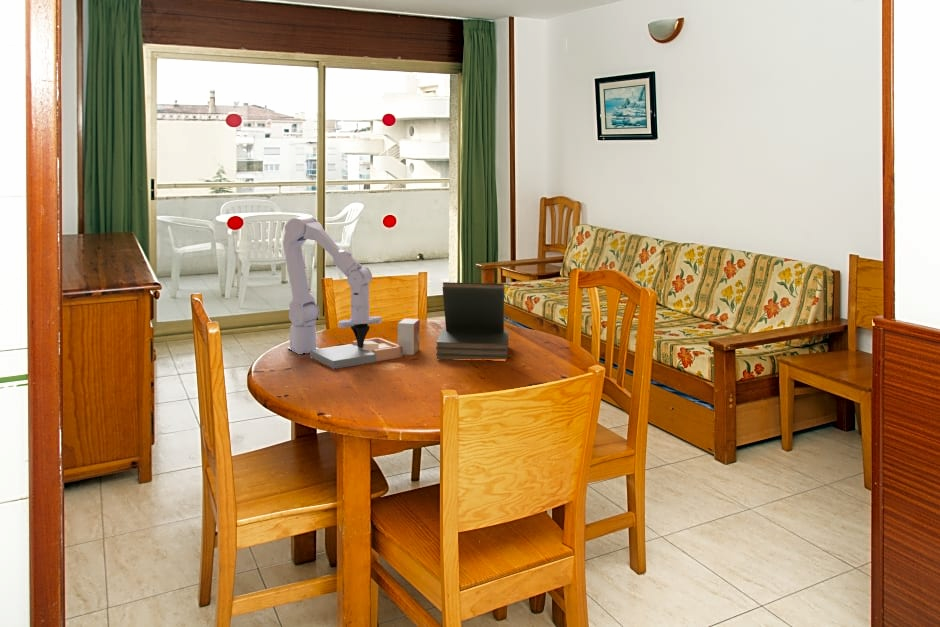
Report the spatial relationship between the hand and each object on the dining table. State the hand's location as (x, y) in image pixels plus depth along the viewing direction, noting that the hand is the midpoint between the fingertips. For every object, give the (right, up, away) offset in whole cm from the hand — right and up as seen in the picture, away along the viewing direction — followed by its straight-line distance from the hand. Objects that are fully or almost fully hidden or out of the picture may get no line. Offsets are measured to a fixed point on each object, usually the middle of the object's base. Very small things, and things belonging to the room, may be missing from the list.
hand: (360, 347), depth 256 cm
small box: (+15, -2, +8) cm, 17 cm away
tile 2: (+6, -2, +5) cm, 8 cm away
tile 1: (+2, 0, +2) cm, 3 cm away
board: (-5, -4, -3) cm, 7 cm away
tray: (+5, -2, +4) cm, 7 cm away
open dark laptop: (+36, -3, +8) cm, 37 cm away
